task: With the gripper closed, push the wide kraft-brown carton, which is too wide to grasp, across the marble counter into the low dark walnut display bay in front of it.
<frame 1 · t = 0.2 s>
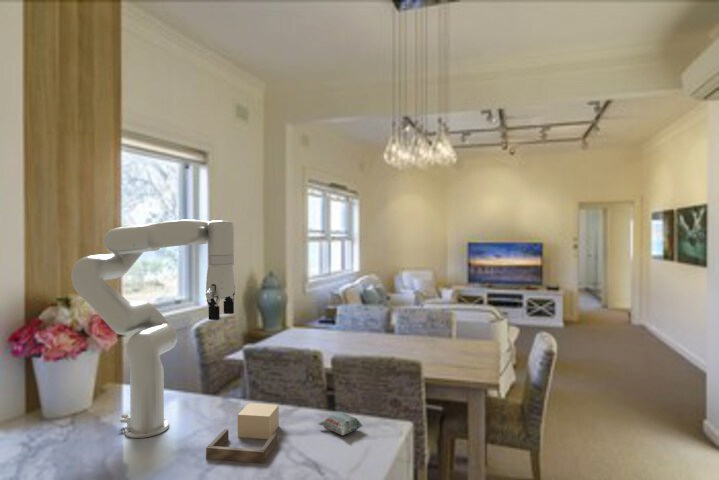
hand: (221, 316, 135), 36 cm above the kitchen counter, fingers open, 9 cm apart
display bay: (243, 449, 126), on the kitchen counter
carton: (258, 431, 138), on the kitchen counter
packaged food: (339, 432, 139), on the kitchen counter
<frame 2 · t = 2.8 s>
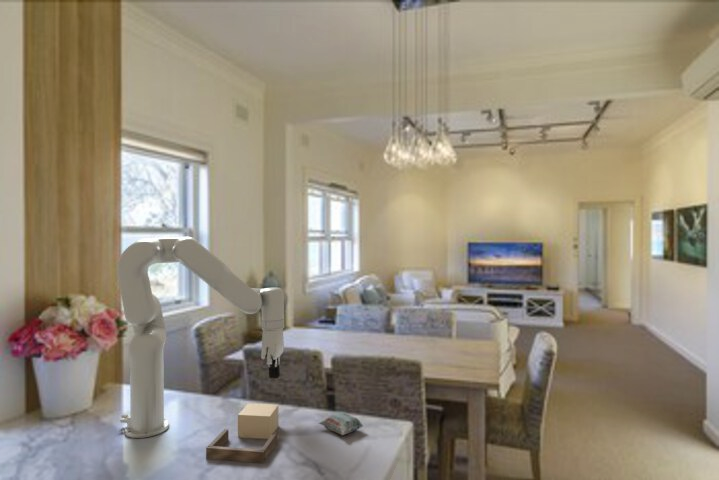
hand: (274, 377, 151), 13 cm above the kitchen counter, fingers closed
nothing on the kitchen counter moved.
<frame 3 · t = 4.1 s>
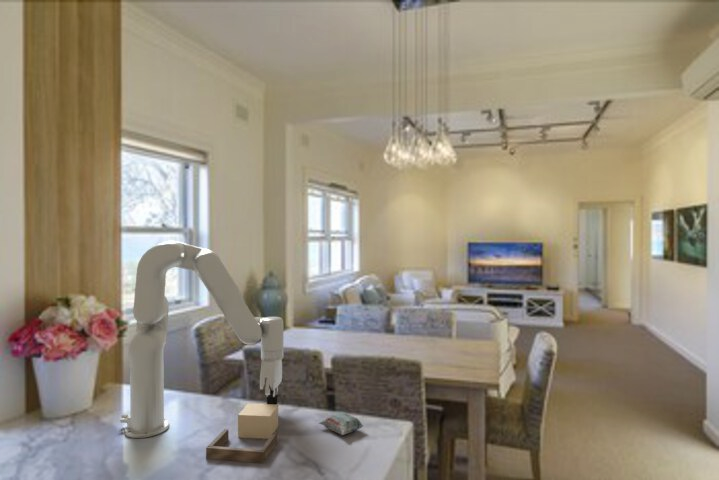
hand: (272, 407, 151), 3 cm above the kitchen counter, fingers closed
nothing on the kitchen counter moved.
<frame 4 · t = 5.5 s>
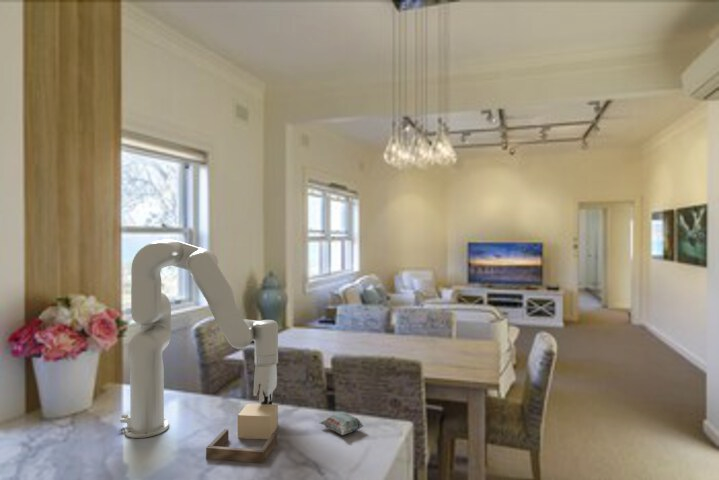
hand: (266, 414, 145), 3 cm above the kitchen counter, fingers closed
carton: (258, 432, 138), on the kitchen counter, touching gripper
everything else where it was.
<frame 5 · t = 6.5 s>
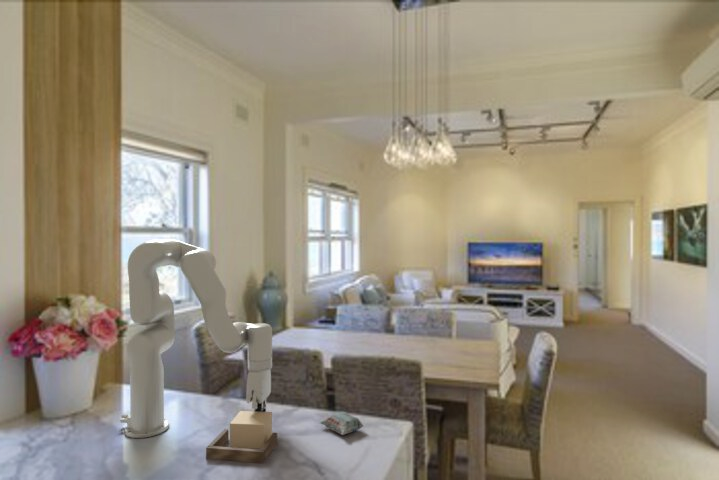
hand: (260, 421, 139), 3 cm above the kitchen counter, fingers closed
carton: (251, 440, 132), on the kitchen counter, touching gripper
everything else where it was.
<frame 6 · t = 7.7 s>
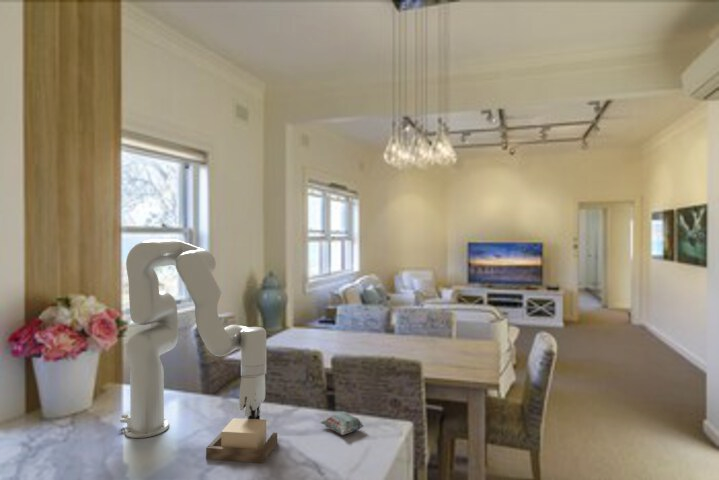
hand: (253, 428, 134), 3 cm above the kitchen counter, fingers closed
carton: (244, 449, 127), on the kitchen counter, touching gripper
everything else where it was.
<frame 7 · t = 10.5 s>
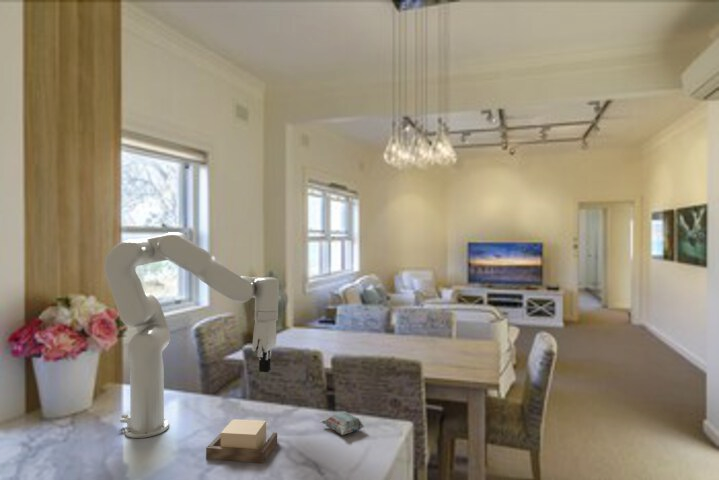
hand: (264, 371, 145), 17 cm above the kitchen counter, fingers closed
carton: (244, 450, 126), on the kitchen counter
everything else where it was.
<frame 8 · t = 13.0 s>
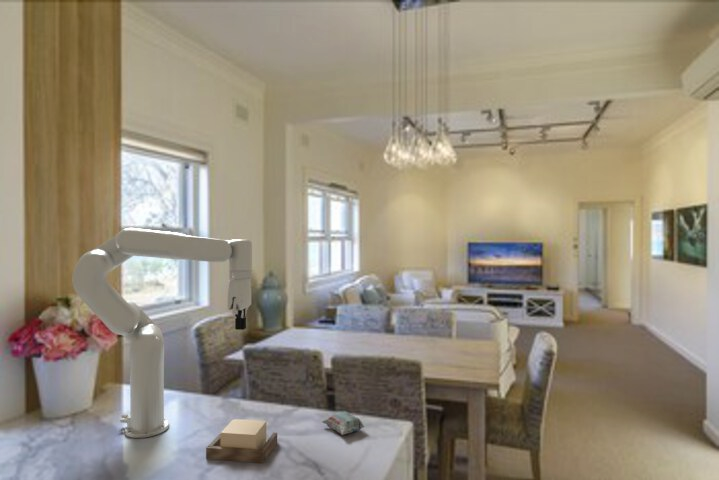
hand: (240, 329, 151), 29 cm above the kitchen counter, fingers closed
nothing on the kitchen counter moved.
at the end: carton 0.3 cm off-centre on the display bay, point 0.0 cm above the display bay's base; carton tilted 0° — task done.
